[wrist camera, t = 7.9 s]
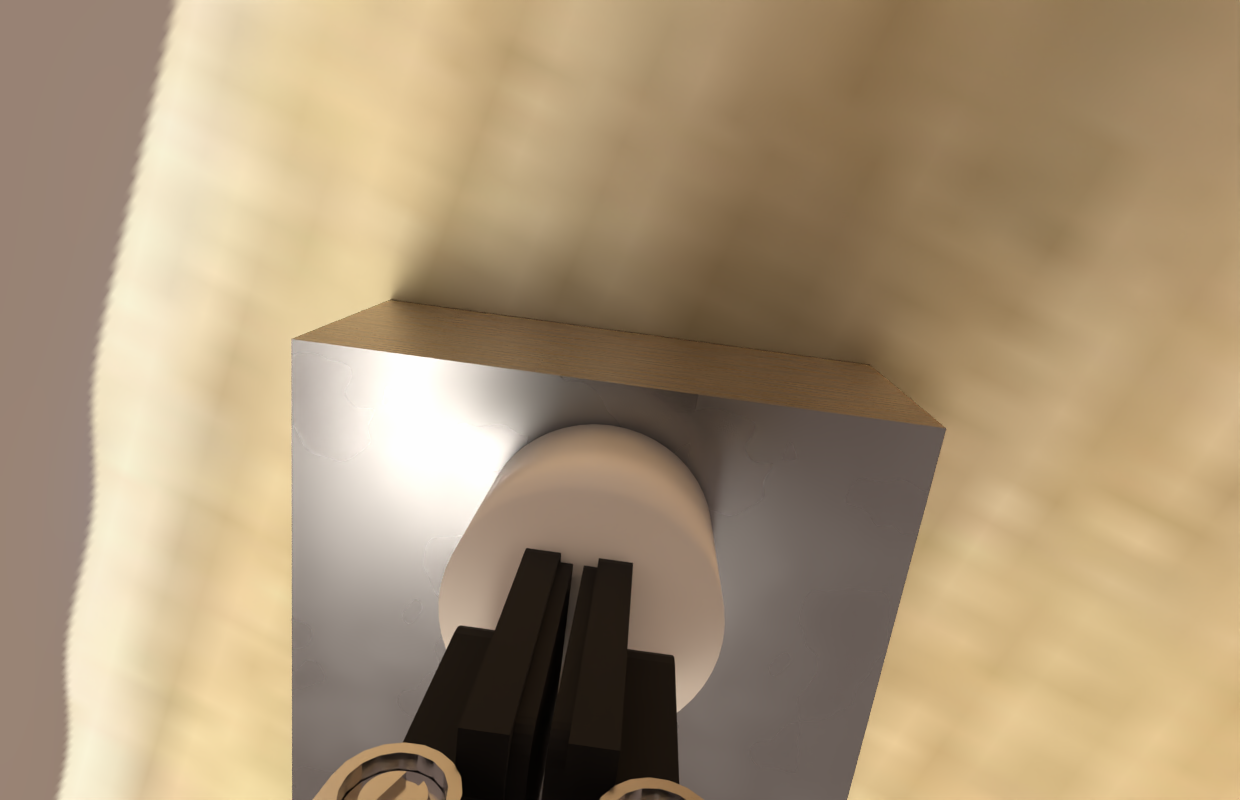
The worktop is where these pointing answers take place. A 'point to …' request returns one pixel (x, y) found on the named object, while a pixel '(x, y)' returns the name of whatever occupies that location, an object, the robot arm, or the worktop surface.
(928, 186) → the worktop surface
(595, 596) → the robot arm
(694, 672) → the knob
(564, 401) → the knob panel
